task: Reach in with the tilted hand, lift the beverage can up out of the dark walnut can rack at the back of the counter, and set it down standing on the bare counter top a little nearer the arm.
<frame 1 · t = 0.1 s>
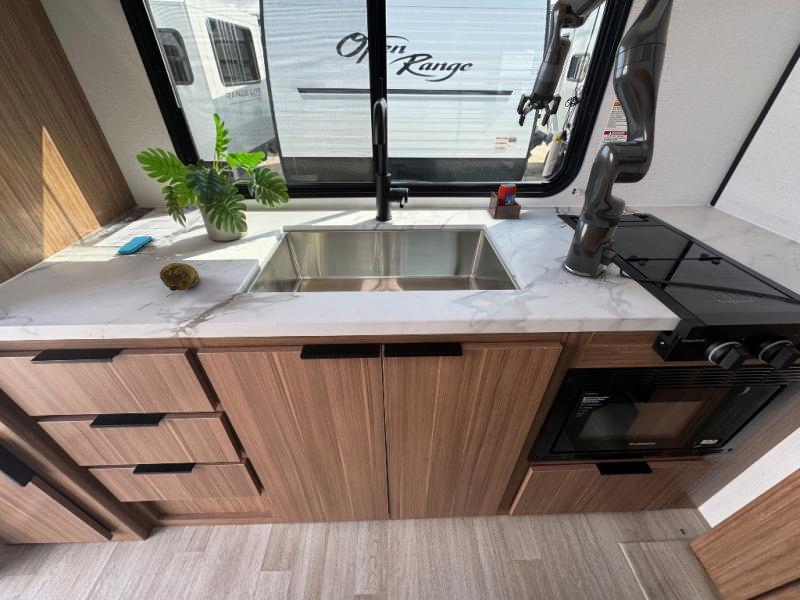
hand: (531, 125, 122), 31 cm above the worktop, tool tilted 20°, fingers open, 8 cm apart
potato: (186, 288, 84), on the worktop
can rack: (503, 214, 132), on the worktop
sponge: (134, 247, 105), on the worktop
beverage can: (502, 215, 132), resting in can rack
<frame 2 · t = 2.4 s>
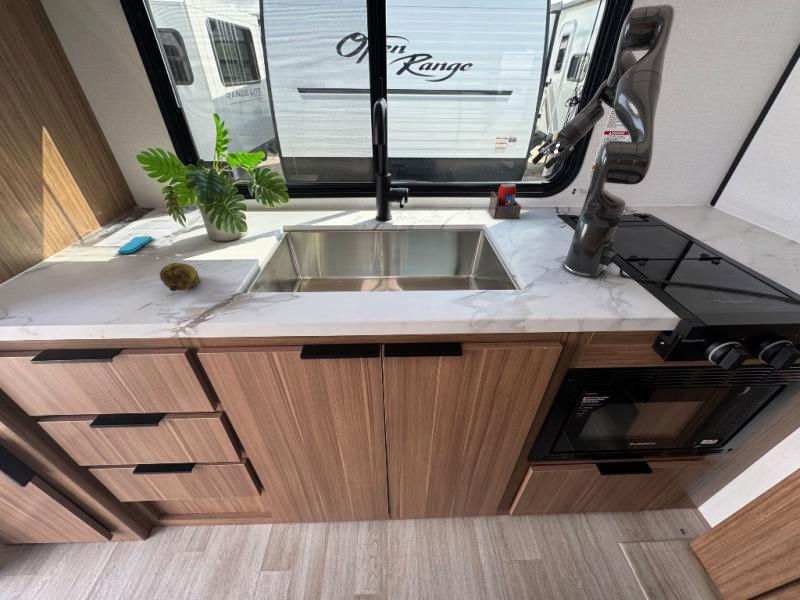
hand: (539, 165, 123), 19 cm above the worktop, tool tilted 45°, fingers open, 8 cm apart
nothing on the worktop moved.
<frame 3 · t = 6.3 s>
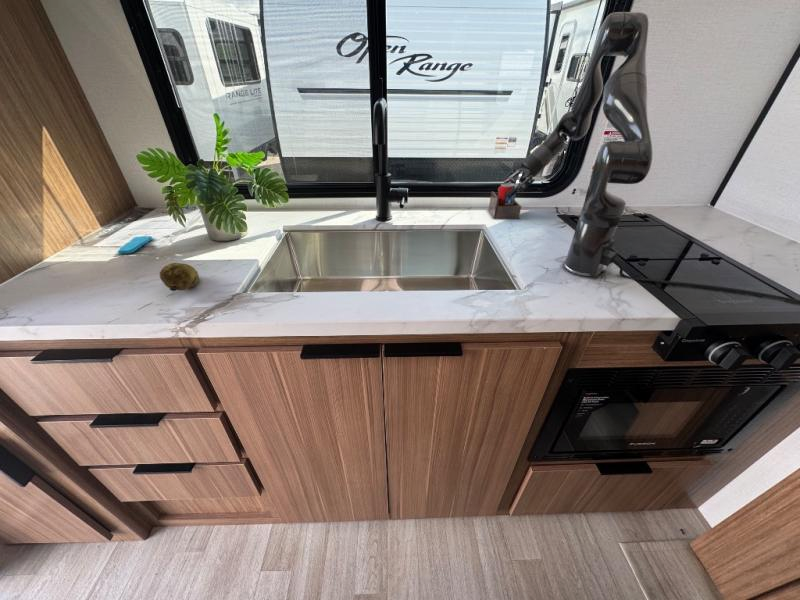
hand: (503, 194, 127), 8 cm above the worktop, tool tilted 45°, fingers closed on beverage can, 7 cm apart
beverage can: (503, 215, 132), resting in can rack, touching gripper
everything else where it was.
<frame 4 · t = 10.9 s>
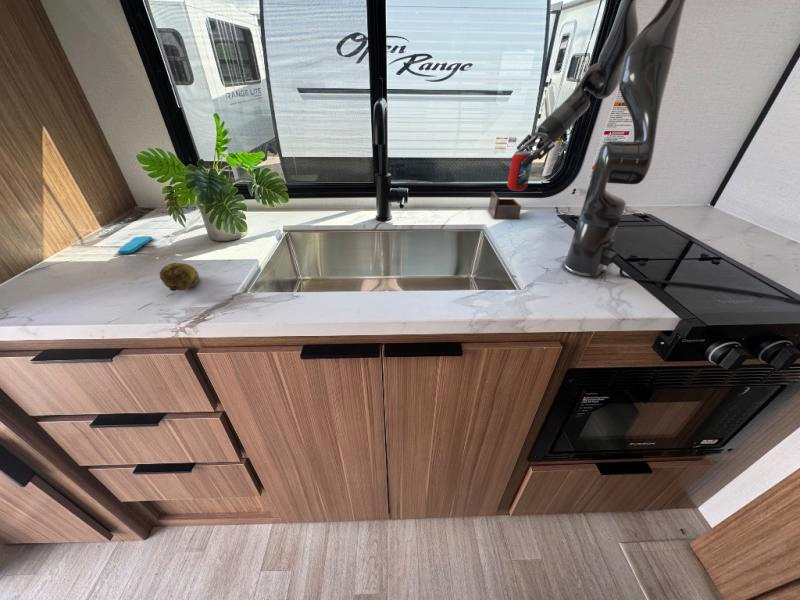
hand: (517, 163, 109), 22 cm above the worktop, tool tilted 45°, fingers closed on beverage can, 7 cm apart
beverage can: (516, 189, 114), point 13 cm above the worktop, touching gripper
everything else where it was.
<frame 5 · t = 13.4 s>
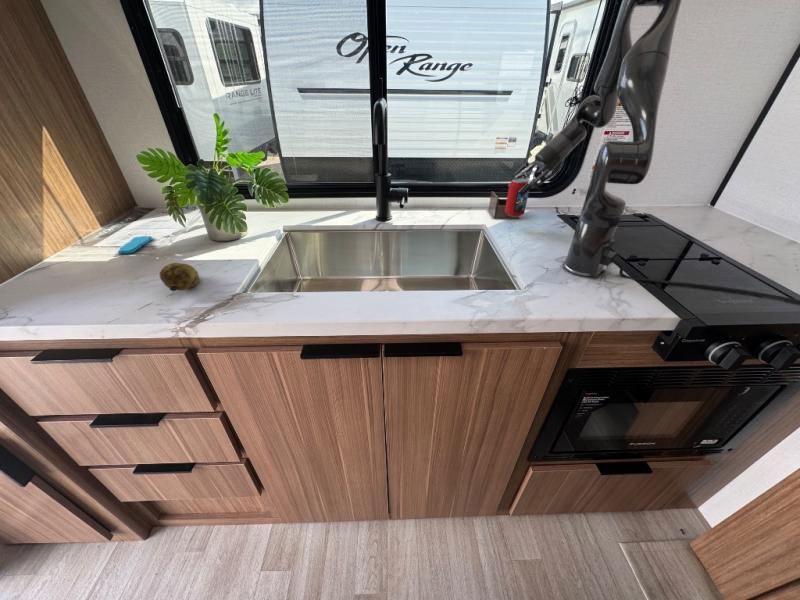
hand: (514, 191, 111), 14 cm above the worktop, tool tilted 45°, fingers closed on beverage can, 7 cm apart
beverage can: (513, 215, 116), point 5 cm above the worktop, touching gripper
everything else where it was.
when the fingers open (8 cm above the worktop, at t = 15.5 s): beverage can stays where it is, on the worktop.
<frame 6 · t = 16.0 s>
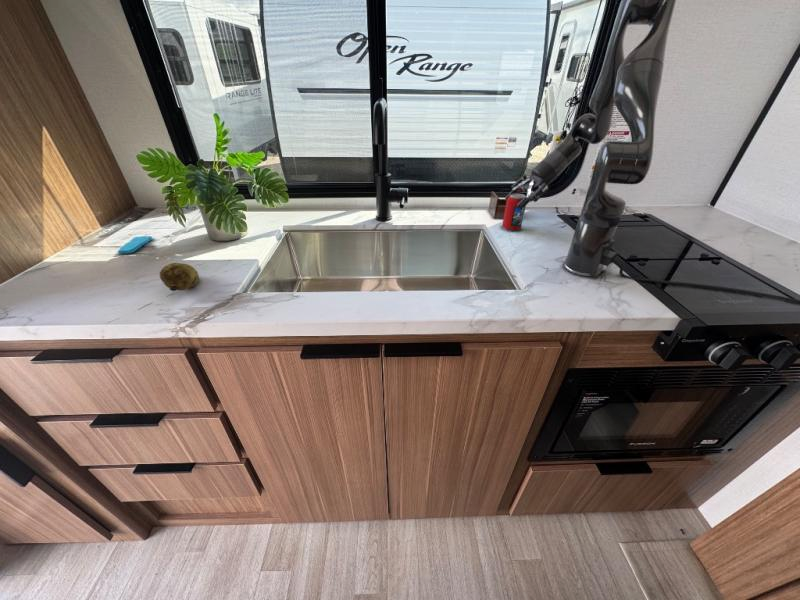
hand: (512, 203, 114), 9 cm above the worktop, tool tilted 45°, fingers open, 8 cm apart
beverage can: (511, 228, 119), on the worktop
everything else where it was.
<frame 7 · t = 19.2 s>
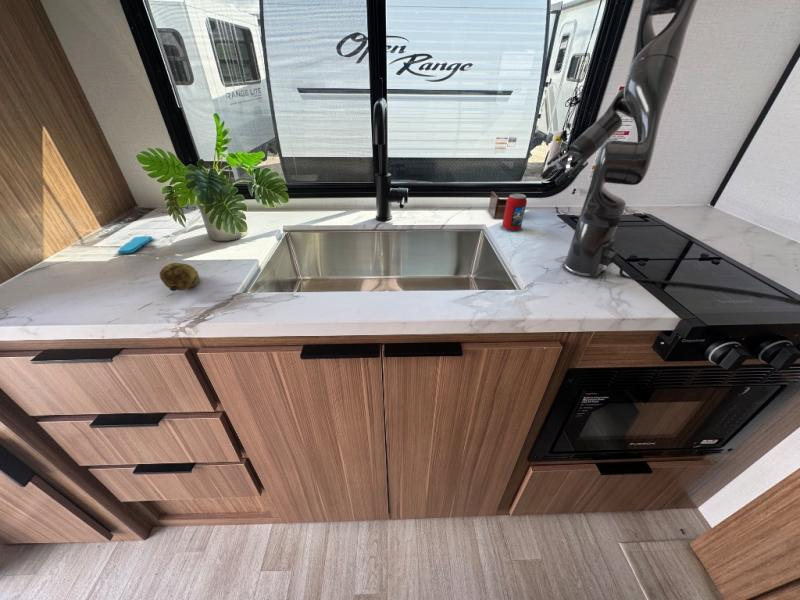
hand: (549, 180, 112), 17 cm above the worktop, tool tilted 45°, fingers open, 8 cm apart
nothing on the worktop moved.
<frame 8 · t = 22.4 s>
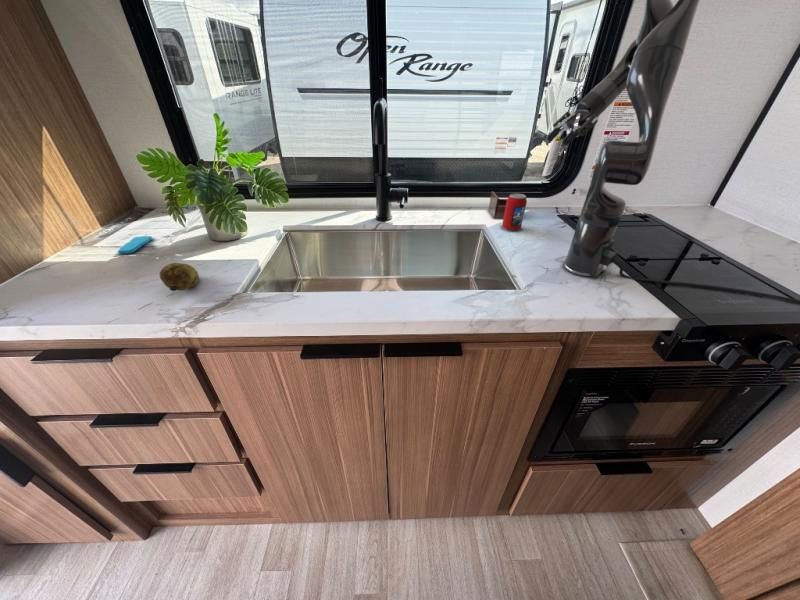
hand: (555, 141, 106), 29 cm above the worktop, tool tilted 45°, fingers open, 8 cm apart
nothing on the worktop moved.
at the end: beverage can inside the target area (0.2 cm from its centre), on the worktop; beverage can tilted 0°; the gripper is holding nothing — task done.
